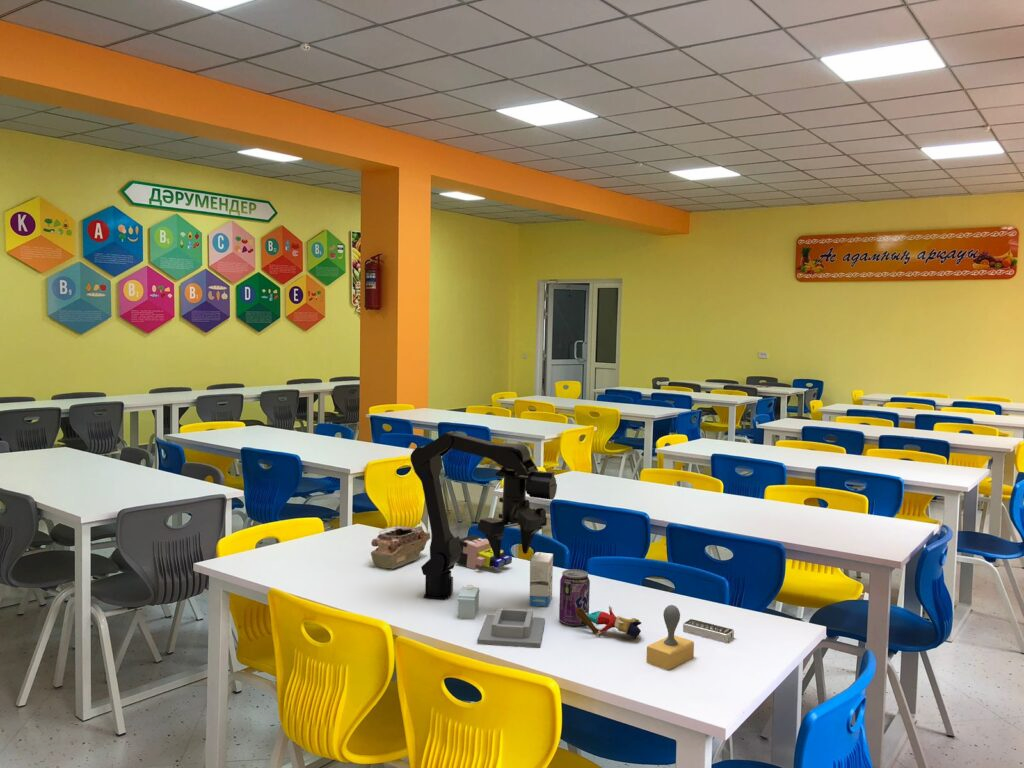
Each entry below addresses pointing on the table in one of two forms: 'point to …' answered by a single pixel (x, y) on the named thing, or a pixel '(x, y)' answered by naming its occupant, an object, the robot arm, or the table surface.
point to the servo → (468, 602)
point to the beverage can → (573, 596)
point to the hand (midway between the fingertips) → (511, 556)
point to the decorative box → (398, 546)
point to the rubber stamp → (670, 644)
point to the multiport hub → (708, 630)
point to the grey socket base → (512, 629)
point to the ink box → (541, 579)
